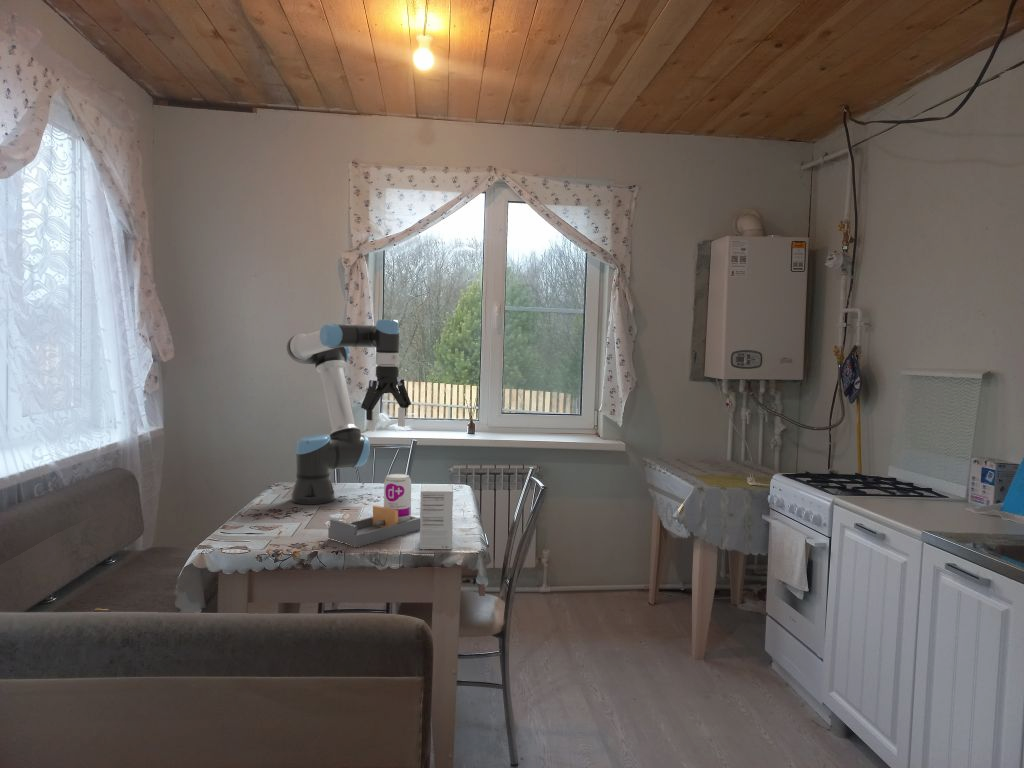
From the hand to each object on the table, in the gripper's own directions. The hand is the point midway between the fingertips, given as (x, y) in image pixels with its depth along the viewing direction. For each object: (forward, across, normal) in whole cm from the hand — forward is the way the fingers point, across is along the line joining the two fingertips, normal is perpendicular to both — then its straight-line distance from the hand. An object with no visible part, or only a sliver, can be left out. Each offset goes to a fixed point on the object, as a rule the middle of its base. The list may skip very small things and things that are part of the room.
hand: (386, 428), depth 231 cm
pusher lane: (+29, -20, -18) cm, 39 cm away
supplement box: (+29, -16, -39) cm, 51 cm away
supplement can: (+27, -12, -18) cm, 35 cm away
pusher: (+27, -18, -18) cm, 37 cm away
